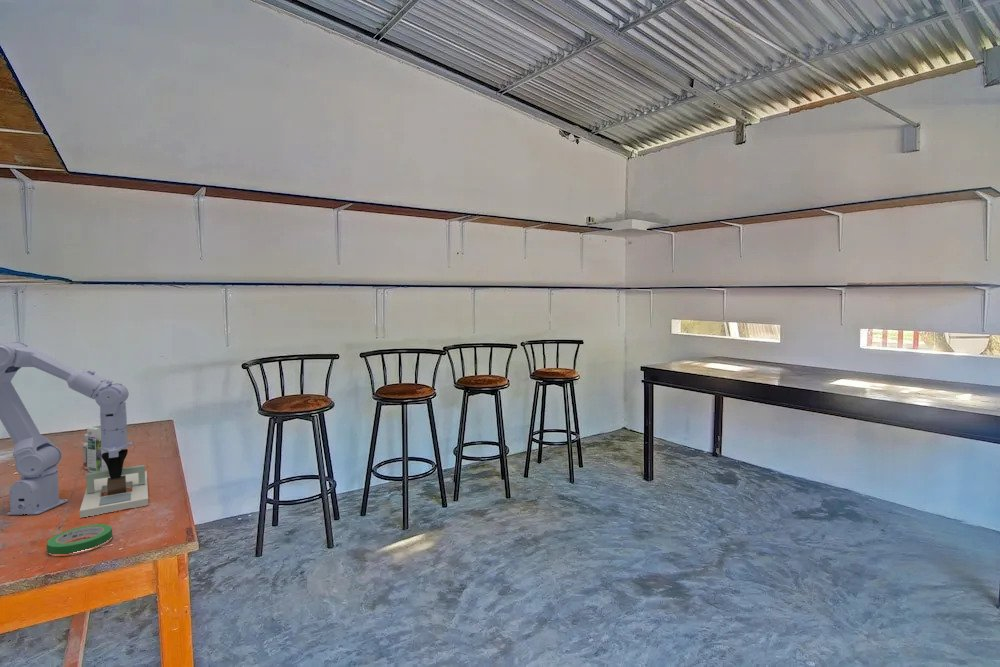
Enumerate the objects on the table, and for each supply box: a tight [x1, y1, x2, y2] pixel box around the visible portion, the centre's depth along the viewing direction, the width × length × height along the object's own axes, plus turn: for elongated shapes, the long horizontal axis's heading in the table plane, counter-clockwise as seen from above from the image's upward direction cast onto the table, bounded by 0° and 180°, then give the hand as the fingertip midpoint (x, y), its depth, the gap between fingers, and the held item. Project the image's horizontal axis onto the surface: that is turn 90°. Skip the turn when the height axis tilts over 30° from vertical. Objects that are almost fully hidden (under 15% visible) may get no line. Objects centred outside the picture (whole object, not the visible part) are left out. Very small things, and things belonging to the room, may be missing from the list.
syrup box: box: [86, 424, 108, 473], centre depth 167 cm, size 6×6×14 cm
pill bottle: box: [82, 433, 88, 470], centre depth 170 cm, size 6×6×11 cm
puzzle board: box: [79, 470, 149, 519], centre depth 143 cm, size 30×14×2 cm, turn 35°
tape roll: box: [46, 523, 113, 554], centre depth 112 cm, size 11×11×3 cm
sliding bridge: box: [85, 464, 146, 493], centre depth 143 cm, size 2×13×5 cm, turn 125°
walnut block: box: [107, 475, 127, 496], centre depth 143 cm, size 4×4×5 cm
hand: (115, 478), depth 140 cm, fingers closed
